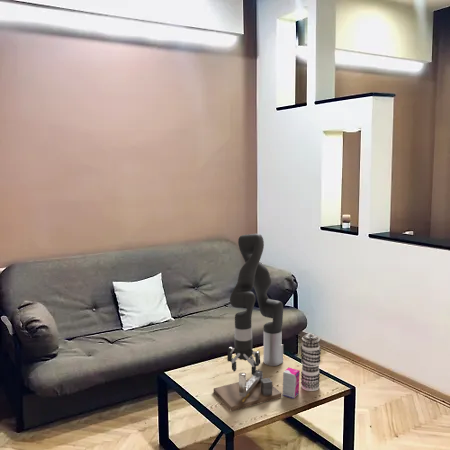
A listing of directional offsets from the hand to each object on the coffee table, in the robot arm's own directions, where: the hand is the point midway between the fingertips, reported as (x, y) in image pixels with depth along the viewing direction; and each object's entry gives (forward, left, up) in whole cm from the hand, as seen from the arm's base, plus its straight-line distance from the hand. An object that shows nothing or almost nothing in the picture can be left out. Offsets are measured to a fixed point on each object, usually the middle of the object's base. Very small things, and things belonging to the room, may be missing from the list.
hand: (243, 372), depth 213 cm
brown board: (-5, -7, -15) cm, 17 cm away
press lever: (-7, -6, -13) cm, 16 cm away
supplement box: (-23, +2, -15) cm, 27 cm away
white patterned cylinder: (-35, 0, -15) cm, 38 cm away
